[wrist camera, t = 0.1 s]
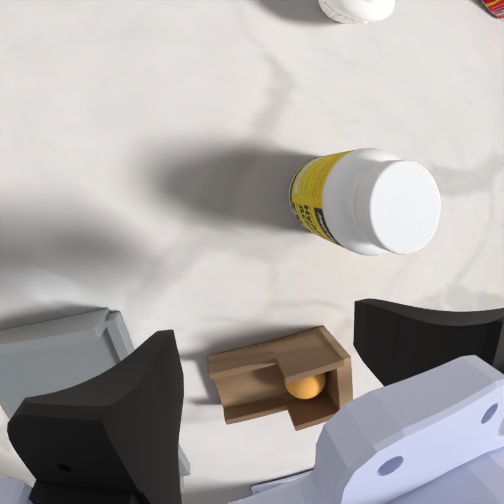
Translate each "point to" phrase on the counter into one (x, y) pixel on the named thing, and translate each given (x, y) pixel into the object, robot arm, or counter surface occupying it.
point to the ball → (307, 386)
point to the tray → (63, 358)
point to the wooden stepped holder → (276, 370)
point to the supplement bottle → (366, 201)
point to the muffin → (357, 10)
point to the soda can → (495, 7)
